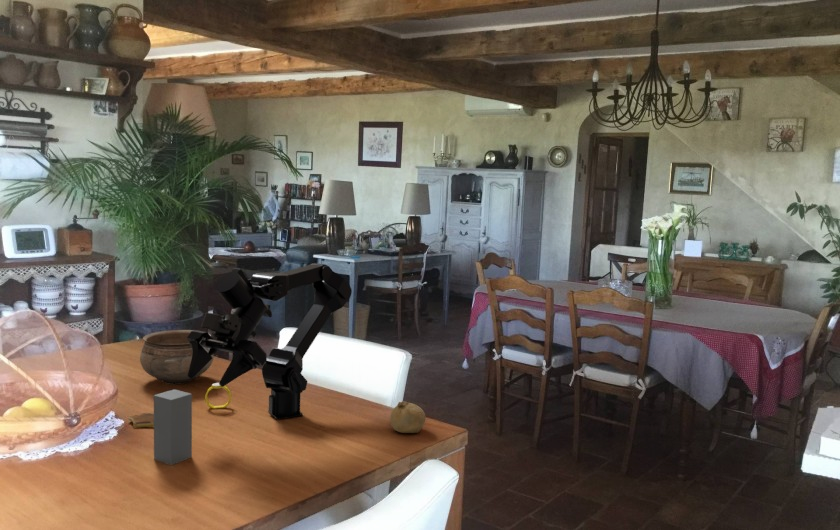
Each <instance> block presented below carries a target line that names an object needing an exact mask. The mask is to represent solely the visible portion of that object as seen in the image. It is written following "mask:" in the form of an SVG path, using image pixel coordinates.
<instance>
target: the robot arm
mask: <svg viewBox="0 0 840 530" xmlns="http://www.w3.org/2000/svg"><path fill="white" fill-rule="evenodd" d="M310 284H311V287H312V288H313V290H315V291H314V293H313V295H314V299H313V300H314V303H313V305H312V306H311V307H310V308H309V310H308V312H307V314H306V315H305V316H304V318H303V320H302V321H301V322H300V324H299V326H298V327H297V329H296V330H295V331H294V333H293V335H292V336H291V338H290V339H289V340H288V342H287V343H286V345H285V346H284V347H282V348H277V347H273V348H272V349H271V350H270V353H269V355H268V356H267V353H266V351H265V350H264V349H263V348H262V347H261V345H260V344H259V343H258V342H257V341H255V340H249V339H250V338H253V339H254V338H255V337H256V336H257V333H256V332H255V330H256V328H257V326H258V325H259V324H260V322H261V320H262V318H263V317H264V318H272V316H273V313H272V310H271V304H266V303H265V302H264V300H266V301H273V302H275V301H276V302H277V301H279V300H281V299H283V298H284V297H286V296H287V295H288V294H289V292H290V291H292V290H294V289H298V288H302V287H305V286H308V285H310ZM214 289H215V290H216V292H218V294H219V295H220V297H221V298H223V300H224V301H225V303H227V305H228V306H229V307H230V308H232V309H235V310H234V312H233V313H227V314H226V315H220V314H216V313H211V312H205V315H204V317H203V320H202V323H201V325H200V326H201V328H202V329H207V330H210V331H212V332H211V334H212V335H213V337H215V338H216V339H214V338H213V337H212V335H211V334H210V333H209V332H208V331H202V330H199V329H198V330H197V329H193V331H191V333H190V334H189V336H188V337H187V340H188V341H189V344H190V345H191V346H192V349H193V354H192V360H191V364H190V368H189V371H188V375H187V376H188V377H189V378H190V379H192V378H193V377H194V376H195V375H196V374H197V373H198V372H199V371H200V370H201V369H202V368H203V367H204V366H205V365H206V364H207V363H208V362H209V361H210V360H211V359H212V358H213V357H212V356H211V355H213V354H214V355H215V354H216V352H217V351H221V352H226V353H231V354H232V359H231V360H230V363H229V365H228V366H227V368H226V370H225V371H224V373H223V375H222V376H221V379H220V381H219V382H218V383H219V385H220V386H222V387H223V386H227V385H228V384H229V383H231V382H233V381H234V380H236V379H237V378H239V377H241V376H242V375H244V374H246V373H248V372H250V371H251V370H256V369H257V367H261V375H262V378H263V381H264V385H265V388H266V389H270V394H269V395H268V413H269V414H270V415H271V416H272V417H274V418H275V419H276V420H283V419H289V418H298V417H302V416H303V412H301V394H302V393H303V392H304V391H306V389H307V386H308V380H307V379H306V378H305V377H304V375H303V374H302V372H303V370H304V369H303V368H304V367H303V365H304V364H303V359H304V356H305V355H306V354H307V352H308V351H309V348H310V347H311V346H312V344H313V343H314V341H315V339H316V338H317V337H318V335H319V333H320V332H321V331H322V329H323V327H324V325H325V324H326V322H327V321H328V320H329V317H330V316H331V315H332V314H333V313H335V312H337V311H339V310H341V309H342V308H343V307H344V306H345V305H346V304H347V303H348V301H349V300H350V298H351V296H352V287H351V285H350V283H349V281H347V280H346V279H345V278H344V277H342V276H341V275H339V274H338V273H337V272H335V271H333V270H332V268H331V267H330V266H329V265H328V264H323V263H315V262H314V263H310V264H309V265H306V266H305V265H304V266H301V267H297V268H294V269H291V270H287V271H283V272H276V273H275V272H257V273H253V274H252V275H251V278H248V277H247V276H246V275H245V272H244V271H243V270H242V268H237V267H234V268H232V270H231V271H229V272H227V273H224V274H223V275H221V276H220V277H218V278H217V280H216V282H215V284H214ZM208 333H209V334H210V335H211V336H210V335H209V334H208ZM213 359H214V358H213ZM192 380H193V379H192Z"/></svg>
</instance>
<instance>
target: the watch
mask: <svg viewBox="0 0 840 530" xmlns="http://www.w3.org/2000/svg"><path fill="white" fill-rule="evenodd" d="M219 383H220V382H215V383H212V384H211V386H210V387H208V389H207V390H206V393H205V396H204V397H205V401H204V402H205V403H206V404H207V406H208V408H211V409H212V410H214V409H215V410H217V409H225V408H227V407H228V406H229V405H230V403H231V400H232V392H231V390H230V389H229V387H227V385H225V386H223V387H222V386H220V385H219ZM221 388H222V389H224V390H225V391H226V392H227V393H228V401H227V402H226V403H225V404H222V405H214V404H212V403H210V401H209V399H208V394H209V392H210V391H212V390H213V389H221Z"/></svg>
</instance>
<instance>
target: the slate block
mask: <svg viewBox="0 0 840 530" xmlns="http://www.w3.org/2000/svg"><path fill="white" fill-rule="evenodd" d="M192 394H193V393H190V392H187V391H186V392H185V391H182V390H179V389H174V388H173V389H172V390H171V389H170V390H167V391H164V392H161V393H157V394H156V393H155V394H154V395H153V413H154V427H153V460H155V461H158V462H161V463H163V464H167V465H169V466H173V465H176V464H179V463H181V462H183V461H186V460H188V459H190V457H191V458H192V457H193V454H192V453H193V447H192V444H193V443H192V441H193V437H192V436H193V435H192V434H193V426H192V425H193V423H192V422H193V417H192V416H193V410H192V409H193V395H192ZM175 463H176V464H175Z"/></svg>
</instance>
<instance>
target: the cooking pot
mask: <svg viewBox="0 0 840 530" xmlns="http://www.w3.org/2000/svg"><path fill="white" fill-rule="evenodd" d="M191 331H194V329H192V330H191V329H175V330H164V331H163V330H162V331H156V332H155V331H154V332H151V333H148V334H145V335H143V337H142V340H143V342H144V343H143V346H142V347H141V350H140V355H139V362H140V364H141V368H142V369H143V371H145V372H146V373H147V374H148V375H149V376H150V377H153V378H155V379H157V380H159V381H161V382H163V383H165V384H169V385H182V384H183V383H184V384H188V383H190V382H191V381H193V380H194V379H196V378H197V377H199V376H201V375H203V374H204V373H206V371H208V370H209V368H210V367H211V366H212V364H213V361H214V357H215V356H214V355H215V354H213V355H211V356H212V357H213V358H212V359H211V360H210V361H209V362H208V363H207V364H206V365H205V366H204V367H203V368H202V369H201V370H200V371H199V372H198V373H197V374H196V375H195V376H194V377H193V378H192V379H190V378H189V377H188V376H187V375H188V371H189V368H190V364H191V360H192V354H193V349H192V346H191V345H190V344H189V341H188V340H187V337H188V336H189V334H190V333H191ZM207 333H208V334H209V335H210V336H211V337H212V335H211V334H210V333H209V332H207ZM184 384H183V385H184Z"/></svg>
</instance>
